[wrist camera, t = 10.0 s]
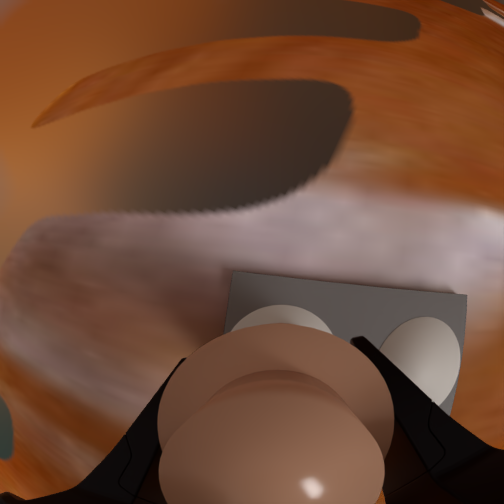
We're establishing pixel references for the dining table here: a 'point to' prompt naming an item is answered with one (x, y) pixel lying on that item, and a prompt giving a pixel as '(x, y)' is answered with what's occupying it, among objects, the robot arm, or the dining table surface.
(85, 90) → the dining table surface
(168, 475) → the light brown tall cylinder
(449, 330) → the slate board
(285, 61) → the dining table surface
